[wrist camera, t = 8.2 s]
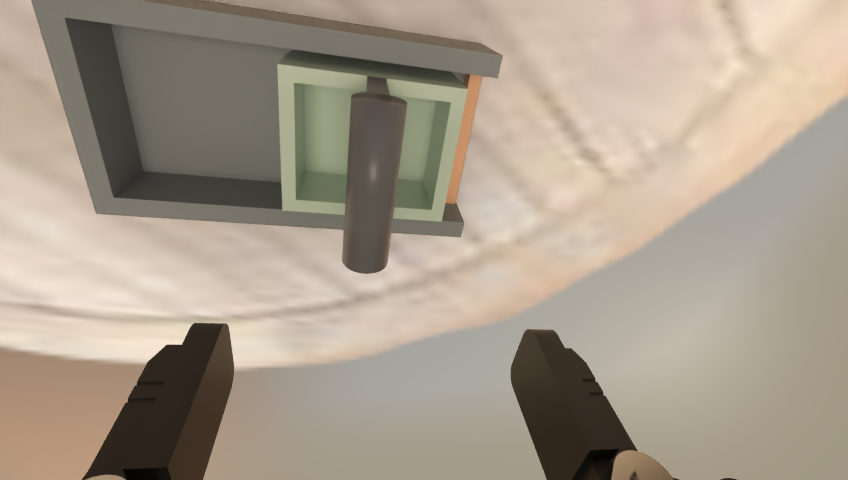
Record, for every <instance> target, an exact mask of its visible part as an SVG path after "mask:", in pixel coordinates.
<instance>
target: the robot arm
mask: <svg viewBox="0 0 848 480" xmlns="http://www.w3.org/2000/svg"><path fill="white" fill-rule="evenodd" d="M233 375H234V362H233V355H232V347H231V340H230V333H229V327H228V325H227V324H216V323H194V324H193V325H192V326H191V327H190V329H189V331H188V333H187V336H186V338H185V340H184V342H183V344H182V345H166V346H165V347H164V348H163V349H162V350H161V351H159V352H158V353H157V354H156V355H155V356H154V357H153V358H152V359H151V360H149V361H148V363H147V365H146V367H145V368H144V370H143V372H142V374H141V376H140V377H139V379H138V381H137V385H136V386H135V387H134V388H133V390H132V392H131V394H130V396H129V398H128V402H127V403H125V405H124V407H123V408H122V410H121V412H120V414H119V416H118V418H117V420H116V421H115V423H114V425H113V427H112V429H111V431H110V432H109V434H108V436H107V438H106V440H105V441H104V443H103V445H102V447H101V449H100V451H99V452H98V454H97V456H96V458H95V460H94V461H93V463H92V465H91V467H90V469H89V470H88V472H87V473H86V475H85V476H84V477H83V479H82V480H203V478H204V474H205V471H206V468H207V465H208V462H209V458H210V455H211V452H212V449H213V445H214V442H215V439H216V436H217V433H218V429H219V426H220V423H221V420H222V416H223V413H224V410H225V407H226V404H227V400H228V397H229V394H230V390H231V387H232V382H233ZM511 382H512V386H513V389H514V392H515V395H516V397H517V400H518V402H519V405H520V408H521V411H522V413H523V416H524V419H525V422H526V424H527V427H528V430H529V432H530V435H531V438H532V440H533V443H534V446H535V449H536V451H537V454H538V457H539V459H540V462H541V465H542V468H543V470H544V473H545V476H546V478H547V480H678V479H675V478H672V477H671V475H670V474H669V473H668V471H667V470H666V469H665V468H664V467H663V466H662V465H661V464H659V462H657V461H656V460H655V459H653V458H652V457H650V456H648V455H646V454H644V453H641V452H638V451H637V449H636V447H635V446H634V444H633V442H632V441H631V439H630V437H629V436H628V434H627V432H626V431H625V429H624V427H623V425H622V424H621V422H620V420H619V419H618V417H617V415H616V413H615V412H614V410H613V408H612V407H611V405H610V403H609V401H608V400H607V398H606V396H604V395H603V391H602V389H601V388H600V386H599V384H598V383H597V382H596V381H595V377H594V375H593V374H592V372H591V370H590V369H589V367H588V365H587V363H586V362H585V361H584V360H583V359H582V358H581V357H580V356H578V354H576V353H575V352H574V351H573V350H572V349H570V348H569V349H568V348H564V346H563V344H562V342H561V340H560V338H559V336H558V335H557V333H556V332H555V331H554V330H533V329H529V330H526V331H525V332H524V334H523V337H522V339H521V342H520V345H519V347H518V350H517V352H516V355H515V358H514V360H513V363H512V366H511ZM721 480H736V479H731V478H725V479H721Z"/></svg>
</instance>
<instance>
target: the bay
mask: <svg viewBox="0 0 848 480" xmlns="http://www.w3.org/2000/svg"><path fill="white" fill-rule="evenodd" d="M31 1H32V4H33V7H34V11H35V14H36V17H37V20H38V24H39V27H40V30H41V34H42V37H43V40H44V44H45V47H46V50H47V53H48V57H49V60H50V63H51V67H52V70H53V73H54V77H55V80H56V83H57V86H58V90H59V93H60V96H61V100H62V103H63V106H64V109H65V113H66V116H67V119H68V123H69V126H70V129H71V133H72V136H73V139H74V142H75V146H76V149H77V152H78V156H79V159H80V162H81V166H82V169H83V172H84V175H85V179H86V182H87V185H88V189H89V192H90V195H91V198H92V202H93V205H94V208H95V212H96V214H108V215H123V216H139V217H155V218H170V219H186V220H201V221H217V222H232V223H248V224H264V225H279V226H295V227H310V228H326V229H341V230H344V218H345V215H339V214H324V213H310V212H296V211H282V185H281V156H280V127H279V98H278V69H277V64H278V63H279V62H280V61H281V60H282V59H283V58H284V57H285V56H286V55H287V54H288V53H289V52H290V51H291V50H298V51H306V52H313V53H320V54H327V55H334V56H341V57H348V58H356V59H363V60H370V61H377V62H384V63H391V64H398V65H406V66H413V67H420V68H427V69H434V70H441V71H448V72H452V73H453V74H454V75H455V76H456V77H457V78H458V79H459V80H460V81H461V83H462V84H463V85H464V86H465V87H466V88H467V89H468V91H467V97H466V102H465V107H464V112H463V117H462V122H461V127H460V132H459V137H458V142H457V147H456V152H455V157H454V162H453V167H452V173H451V178H450V183H449V188H448V193H447V198H446V203H445V208H444V213H443V218H442V222H438V221H423V220H409V219H395V218H393V222H392V230H391V233H404V234H419V235H435V236H451V237H461V234H462V230H463V226H464V221H463V218H462V216H461V214H460V211H459V209H458V206H457V204H456V198H457V194H458V189H459V184H460V179H461V175H462V170H463V165H464V161H465V156H466V151H467V146H468V142H469V137H470V132H471V127H472V123H473V118H474V113H475V109H476V104H477V99H478V94H479V90H480V85H481V80H482V76H486V77H493V78H498V74H499V69H500V65H501V61H502V55H501V54H499V53H497V52H495V51H494V50H492V49H490V48H488V47H486V46H485V45H483V44H480V43H474V42H467V41H461V40H454V39H448V38H441V37H435V36H429V35H422V34H416V33H409V32H403V31H396V30H390V29H383V28H377V27H371V26H364V25H358V24H351V23H345V22H338V21H332V20H325V19H319V18H313V17H306V16H300V15H293V14H287V13H280V12H274V11H267V10H261V9H255V8H248V7H242V6H235V5H229V4H222V3H216V2H209V1H203V0H31Z"/></svg>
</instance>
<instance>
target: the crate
mask: <svg viewBox="0 0 848 480" xmlns="http://www.w3.org/2000/svg"><path fill="white" fill-rule="evenodd" d="M277 69H278V98H279V127H280V156H281V185H282V211H296V212H310V213H324V214H339V215H345V218H344V236H343V254H342V261H343V264H344V265H345V266H346V267H347V268H348V269H350V270H352V271H354V272H358V273H365V274H369V273H376V272H379V271H381V270H383V269H384V268H385V267H386V265H387V262H388V254H389V246H390V238H391V230H392V222H393V218H395V219H409V220H423V221H438V222H442V218H443V213H444V208H445V203H446V198H447V193H448V188H449V183H450V178H451V173H452V167H453V162H454V157H455V152H456V147H457V142H458V137H459V132H460V127H461V122H462V117H463V112H464V107H465V102H466V97H467V91H468V89H467V88H466V87H465V86H464V85H463V84H462V83H461V81H460V80H459V79H458V78H457V77H456V76H455V75H454V74H453V73H452V72H448V71H441V70H434V69H427V68H420V67H413V66H406V65H398V64H391V63H384V62H377V61H370V60H363V59H356V58H348V57H341V56H334V55H327V54H320V53H313V52H306V51H298V50H291V51H290V52H289V53H288V54H287V55H286V56H285V57H284V58H283V59H282V60H281V61H280V62H279V63H278V64H277Z"/></svg>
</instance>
